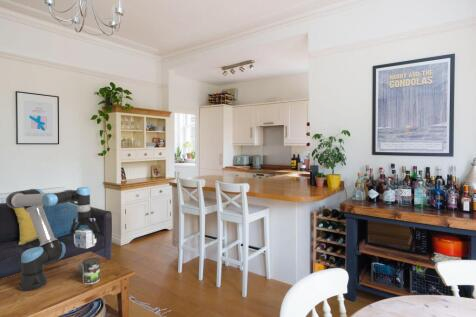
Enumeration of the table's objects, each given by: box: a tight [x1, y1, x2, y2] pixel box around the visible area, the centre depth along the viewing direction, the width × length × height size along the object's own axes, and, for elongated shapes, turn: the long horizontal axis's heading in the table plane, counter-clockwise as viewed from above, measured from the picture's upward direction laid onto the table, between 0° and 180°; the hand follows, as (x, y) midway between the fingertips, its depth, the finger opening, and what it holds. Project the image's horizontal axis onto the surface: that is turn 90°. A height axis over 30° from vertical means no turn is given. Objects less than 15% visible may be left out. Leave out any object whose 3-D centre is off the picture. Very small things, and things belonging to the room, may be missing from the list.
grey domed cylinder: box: [77, 262, 83, 277], centre depth 200 cm, size 5×5×8 cm
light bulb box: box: [74, 227, 96, 249], centre depth 187 cm, size 11×7×11 cm, turn 68°
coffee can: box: [81, 257, 101, 285], centre depth 191 cm, size 10×10×14 cm
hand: (85, 243), depth 187 cm, fingers closed on light bulb box, 12 cm apart
